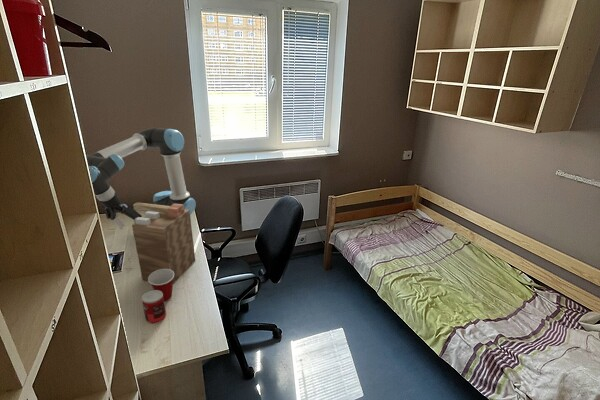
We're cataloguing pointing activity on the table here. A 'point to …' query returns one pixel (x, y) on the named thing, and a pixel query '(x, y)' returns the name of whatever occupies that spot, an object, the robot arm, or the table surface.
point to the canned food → (154, 306)
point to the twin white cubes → (147, 218)
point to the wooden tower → (165, 244)
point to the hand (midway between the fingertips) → (132, 227)
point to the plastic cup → (162, 282)
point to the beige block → (160, 208)
